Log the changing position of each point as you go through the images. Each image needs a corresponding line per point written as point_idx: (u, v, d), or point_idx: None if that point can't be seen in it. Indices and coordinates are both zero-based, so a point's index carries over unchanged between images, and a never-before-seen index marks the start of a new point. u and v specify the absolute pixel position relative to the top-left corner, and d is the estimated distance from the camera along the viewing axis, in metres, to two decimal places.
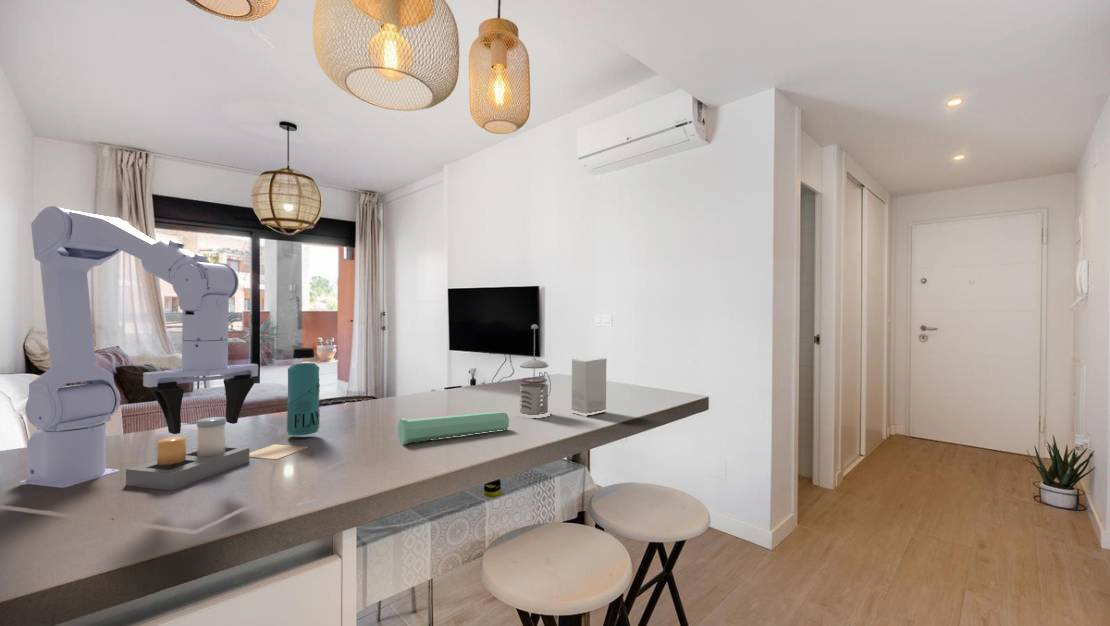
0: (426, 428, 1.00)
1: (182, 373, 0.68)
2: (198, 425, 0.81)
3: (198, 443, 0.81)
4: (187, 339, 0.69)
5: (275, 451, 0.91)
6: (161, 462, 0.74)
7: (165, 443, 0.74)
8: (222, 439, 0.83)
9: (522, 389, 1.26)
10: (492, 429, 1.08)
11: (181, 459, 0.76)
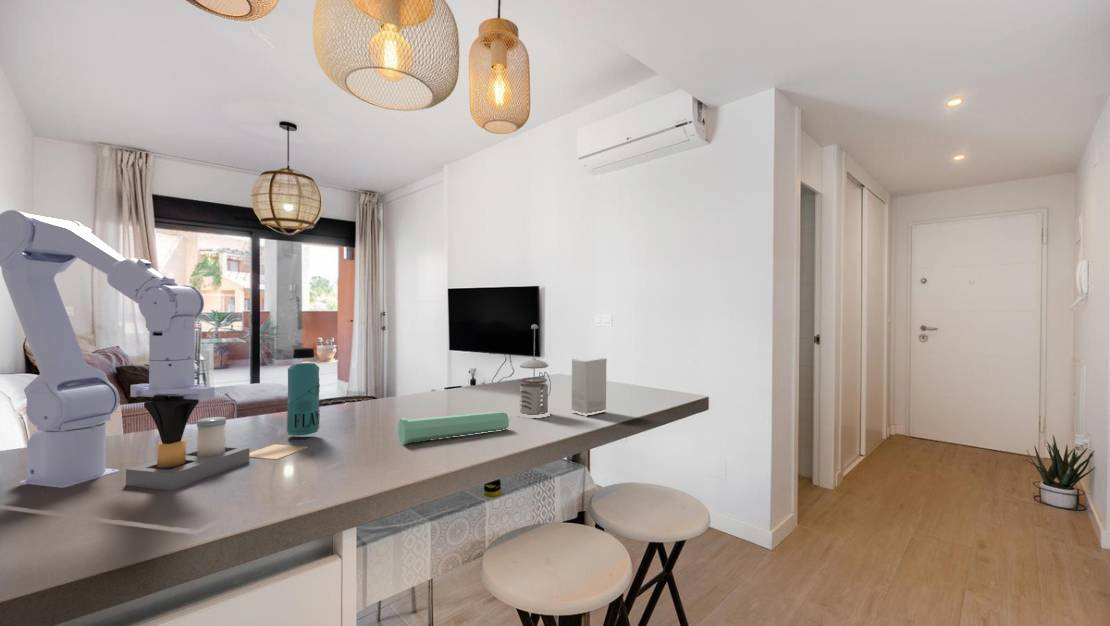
0: (426, 428, 1.00)
1: (141, 388, 0.75)
2: (198, 425, 0.81)
3: (198, 443, 0.81)
4: (155, 359, 0.73)
5: (275, 451, 0.91)
6: (161, 464, 0.74)
7: (165, 446, 0.74)
8: (222, 439, 0.83)
9: (522, 389, 1.26)
10: (492, 429, 1.08)
11: (181, 461, 0.76)
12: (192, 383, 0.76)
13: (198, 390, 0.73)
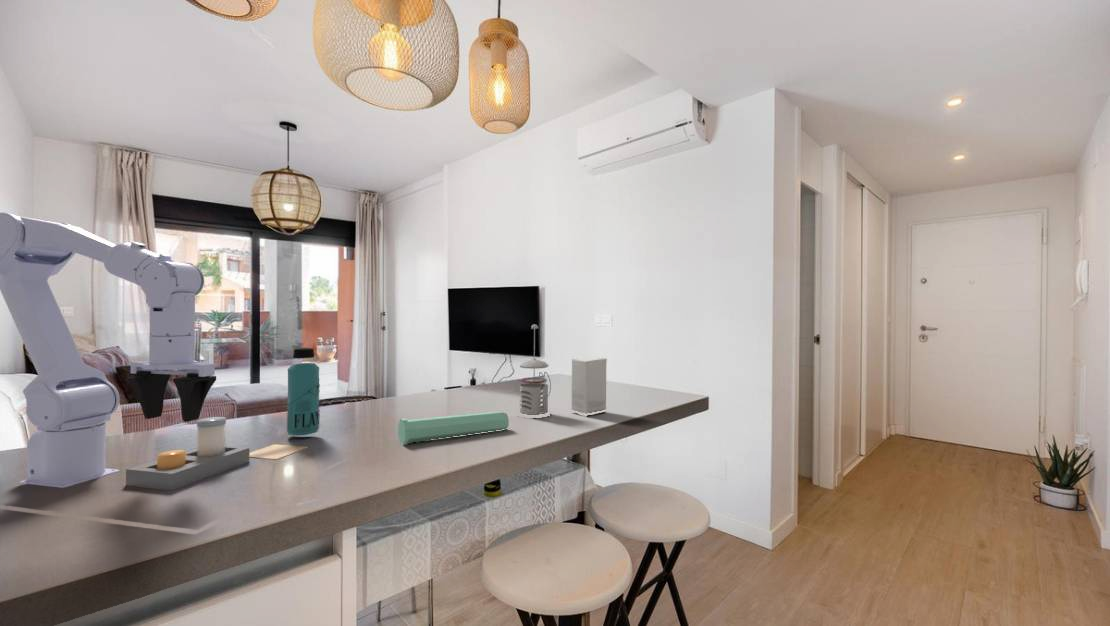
0: (426, 428, 1.00)
1: (141, 364, 0.75)
2: (198, 425, 0.81)
3: (198, 443, 0.81)
4: (155, 334, 0.73)
5: (275, 451, 0.91)
6: None
7: (165, 457, 0.74)
8: (222, 439, 0.83)
9: (522, 389, 1.26)
10: (492, 429, 1.08)
11: None
12: (192, 360, 0.76)
13: (198, 366, 0.73)
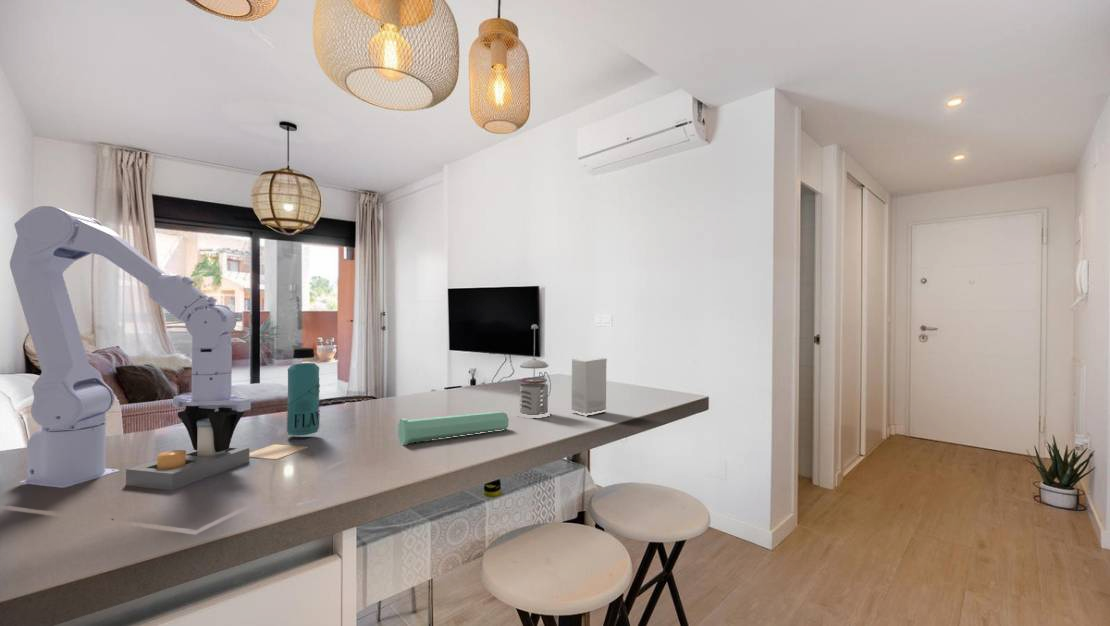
0: (426, 428, 1.00)
1: (184, 400, 0.81)
2: (198, 425, 0.81)
3: (198, 443, 0.81)
4: (204, 373, 0.80)
5: (275, 451, 0.91)
6: None
7: (165, 457, 0.74)
8: None
9: (522, 389, 1.26)
10: (492, 429, 1.08)
11: None
12: (230, 395, 0.83)
13: (236, 402, 0.80)
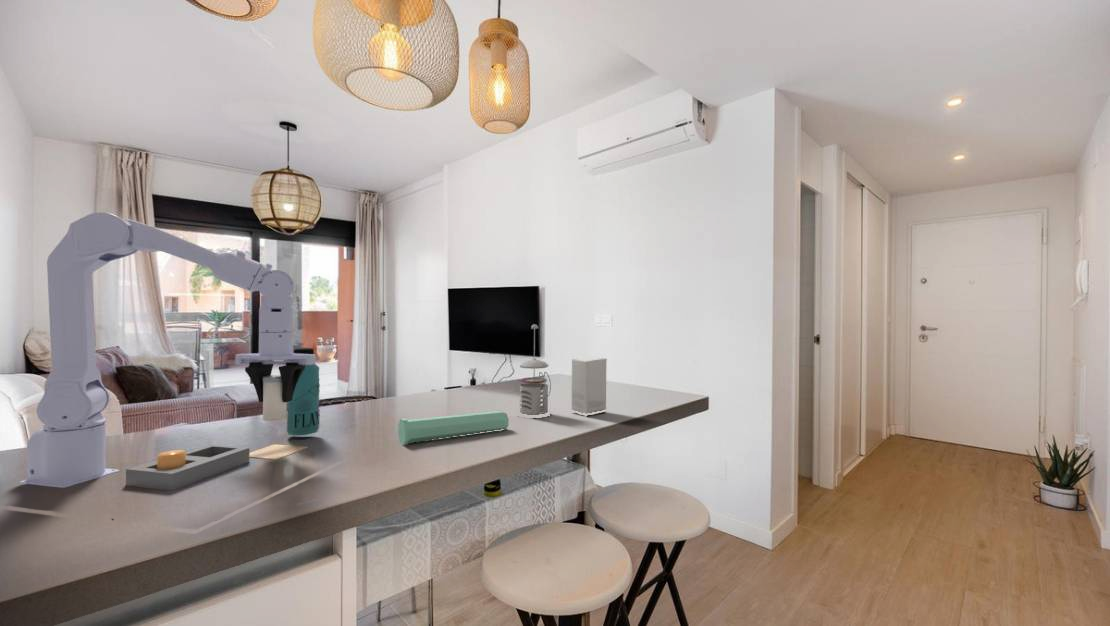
0: (426, 428, 1.00)
1: (250, 356, 0.89)
2: (265, 380, 0.89)
3: (265, 397, 0.89)
4: (275, 331, 0.88)
5: (275, 451, 0.91)
6: None
7: (165, 457, 0.74)
8: None
9: (522, 389, 1.26)
10: (492, 429, 1.08)
11: None
12: (292, 352, 0.92)
13: (305, 356, 0.90)
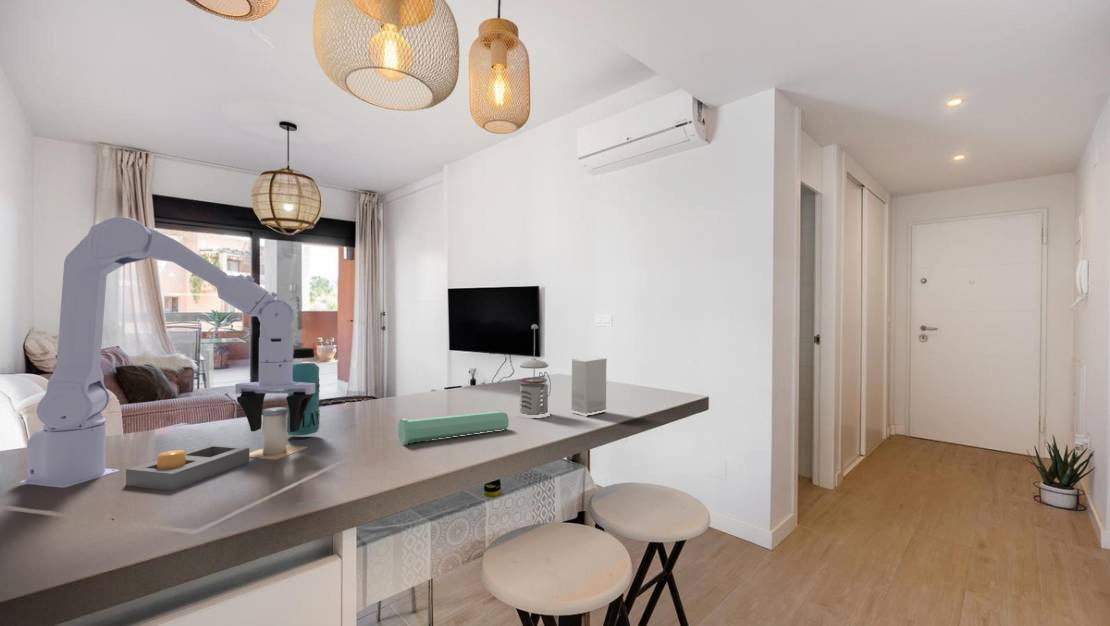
0: (426, 428, 1.00)
1: (250, 386, 0.89)
2: (265, 414, 0.89)
3: (265, 431, 0.89)
4: (274, 361, 0.88)
5: None
6: None
7: (165, 457, 0.74)
8: (285, 427, 0.91)
9: (522, 389, 1.26)
10: (492, 429, 1.08)
11: None
12: (292, 380, 0.92)
13: (305, 386, 0.90)
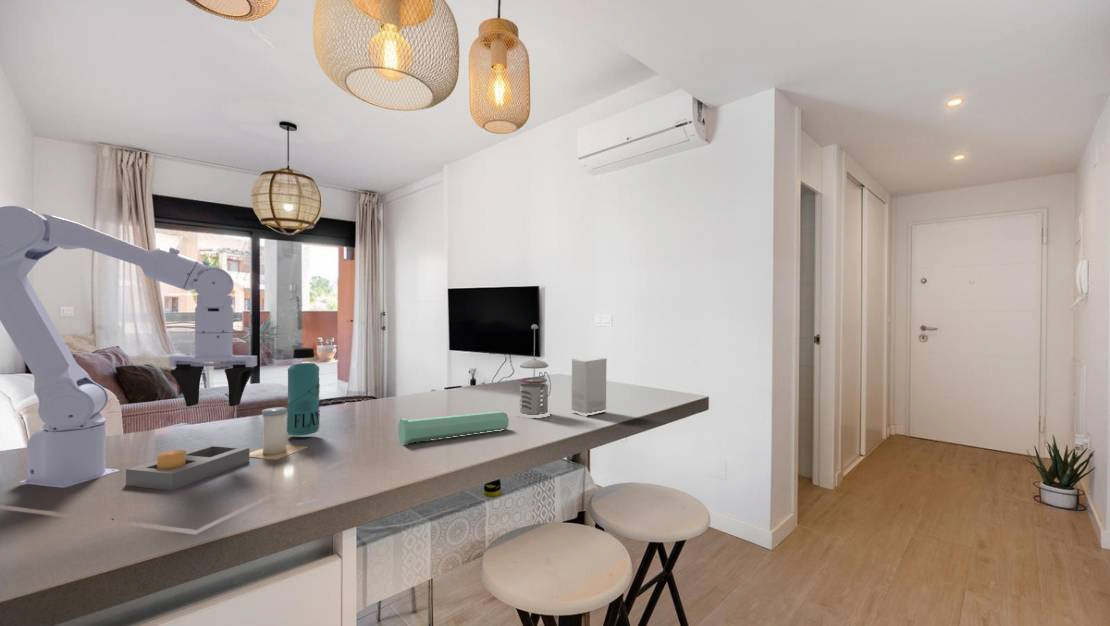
0: (427, 428, 1.00)
1: (186, 358, 0.85)
2: (264, 414, 0.89)
3: (264, 431, 0.89)
4: (212, 331, 0.84)
5: None
6: None
7: (165, 457, 0.74)
8: (285, 427, 0.91)
9: (522, 389, 1.26)
10: (492, 429, 1.08)
11: None
12: (232, 353, 0.88)
13: (246, 358, 0.86)
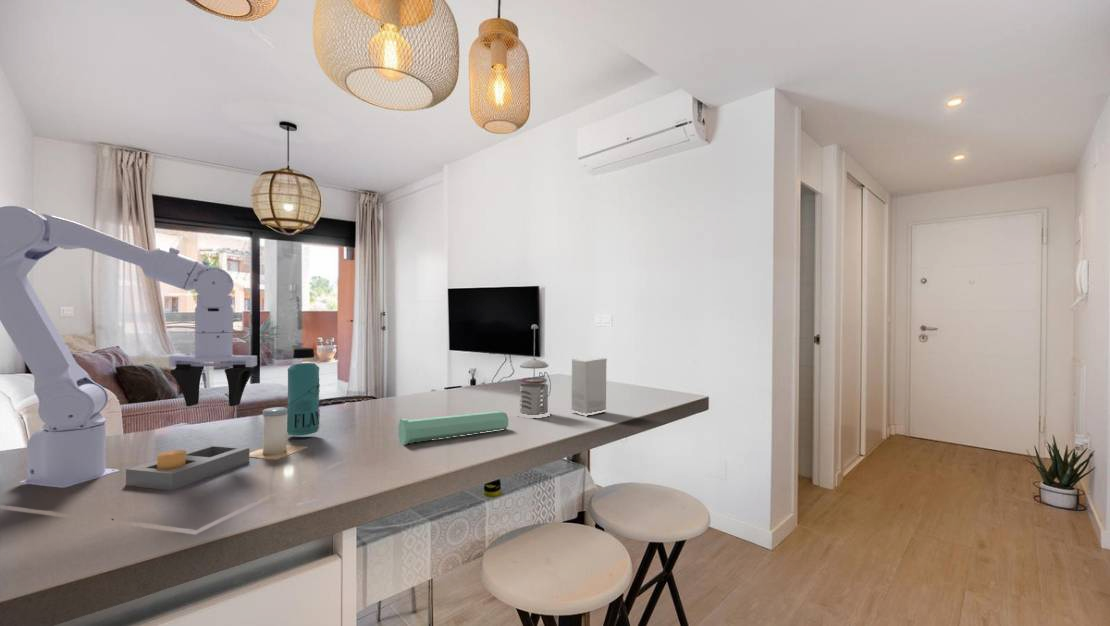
0: (427, 428, 1.00)
1: (186, 358, 0.85)
2: (265, 414, 0.89)
3: (265, 431, 0.89)
4: (212, 331, 0.84)
5: None
6: None
7: (165, 457, 0.74)
8: (285, 427, 0.91)
9: (522, 389, 1.26)
10: (492, 429, 1.08)
11: None
12: (232, 353, 0.88)
13: (246, 358, 0.86)
